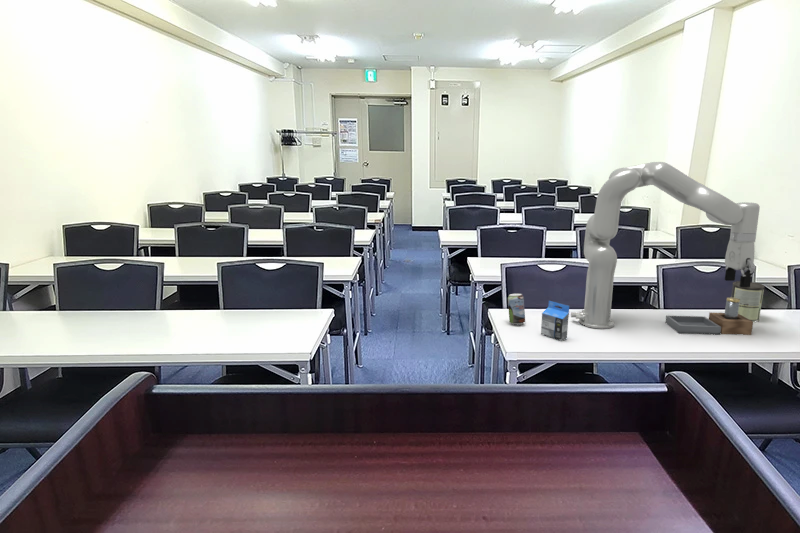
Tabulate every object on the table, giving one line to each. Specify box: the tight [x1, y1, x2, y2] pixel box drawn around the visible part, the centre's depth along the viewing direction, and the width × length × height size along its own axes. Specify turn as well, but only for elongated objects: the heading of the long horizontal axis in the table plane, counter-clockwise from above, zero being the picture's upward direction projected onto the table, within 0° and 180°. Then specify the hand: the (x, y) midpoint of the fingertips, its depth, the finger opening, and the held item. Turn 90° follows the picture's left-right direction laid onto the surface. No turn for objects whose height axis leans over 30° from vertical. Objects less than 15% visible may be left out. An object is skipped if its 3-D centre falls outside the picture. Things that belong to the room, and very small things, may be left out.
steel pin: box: [724, 296, 740, 319], centre depth 176 cm, size 4×4×12 cm
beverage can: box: [507, 293, 526, 325], centre depth 185 cm, size 6×7×12 cm
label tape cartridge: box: [540, 300, 570, 342], centre depth 171 cm, size 9×4×12 cm, turn 37°
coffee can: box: [730, 280, 766, 323], centre depth 189 cm, size 10×10×14 cm
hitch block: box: [708, 311, 754, 336], centre depth 177 cm, size 10×10×5 cm
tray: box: [665, 314, 721, 336], centre depth 179 cm, size 14×12×3 cm
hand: (736, 283), depth 173 cm, fingers open, 9 cm apart
